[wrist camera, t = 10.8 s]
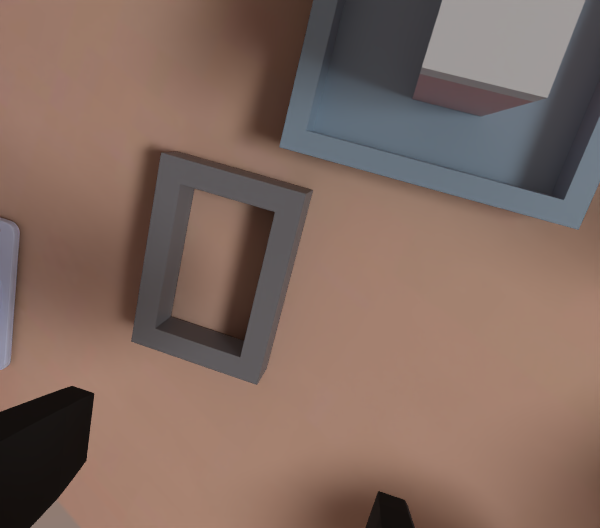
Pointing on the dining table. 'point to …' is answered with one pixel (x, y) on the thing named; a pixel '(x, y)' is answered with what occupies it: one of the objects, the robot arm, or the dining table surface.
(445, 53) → the red and grey block
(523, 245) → the dining table surface
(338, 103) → the parts tray
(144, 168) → the dining table surface
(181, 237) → the grey rectangular frame
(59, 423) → the robot arm
